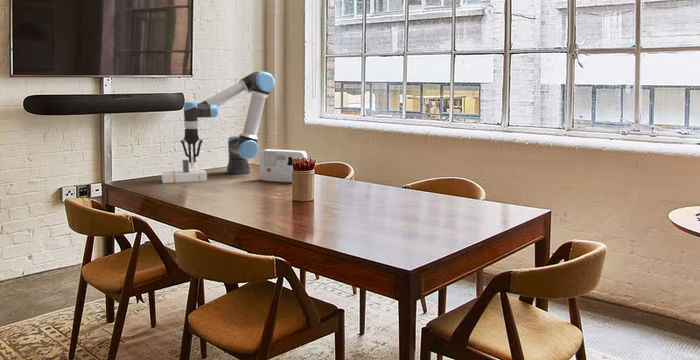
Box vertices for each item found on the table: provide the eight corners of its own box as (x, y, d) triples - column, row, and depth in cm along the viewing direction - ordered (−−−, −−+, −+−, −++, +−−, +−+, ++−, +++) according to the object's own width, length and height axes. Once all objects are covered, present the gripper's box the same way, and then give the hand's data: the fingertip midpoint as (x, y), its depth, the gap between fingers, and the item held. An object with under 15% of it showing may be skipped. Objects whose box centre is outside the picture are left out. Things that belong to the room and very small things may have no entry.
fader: (188, 178, 394) (187, 159, 392) (189, 179, 389) (188, 160, 388) (183, 178, 393) (182, 159, 391) (183, 179, 388) (183, 160, 387)
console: (204, 178, 400) (204, 169, 399) (207, 180, 390) (206, 172, 389) (161, 180, 392) (161, 171, 391) (162, 183, 382) (162, 174, 381)
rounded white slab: (257, 181, 390) (257, 150, 387) (263, 179, 397) (263, 149, 394) (302, 183, 380) (302, 152, 377) (307, 181, 387) (307, 151, 384)
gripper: (201, 127, 393) (203, 167, 397) (179, 128, 389) (180, 167, 393) (203, 128, 386) (204, 168, 390) (180, 129, 382) (181, 169, 386)
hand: (192, 168), depth 391 cm, fingers closed
